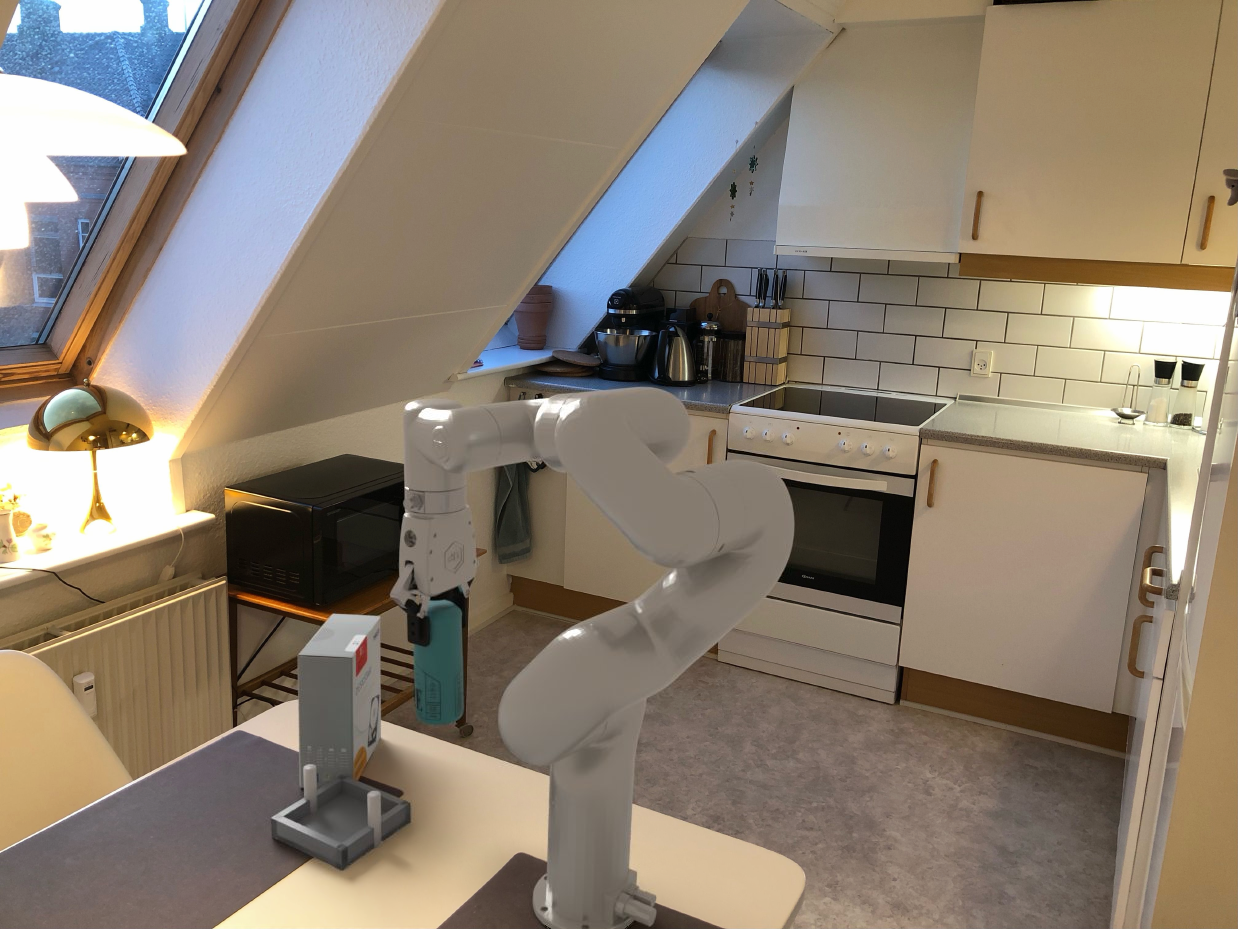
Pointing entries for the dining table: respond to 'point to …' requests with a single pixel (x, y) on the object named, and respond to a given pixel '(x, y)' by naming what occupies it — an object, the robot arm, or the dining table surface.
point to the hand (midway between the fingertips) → (438, 633)
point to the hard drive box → (340, 697)
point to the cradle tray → (339, 819)
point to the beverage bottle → (440, 665)
